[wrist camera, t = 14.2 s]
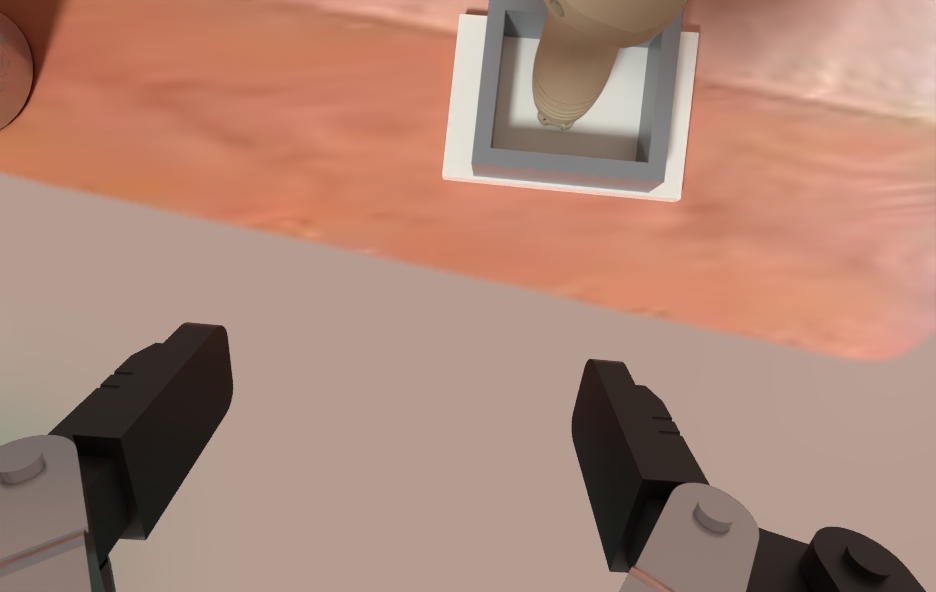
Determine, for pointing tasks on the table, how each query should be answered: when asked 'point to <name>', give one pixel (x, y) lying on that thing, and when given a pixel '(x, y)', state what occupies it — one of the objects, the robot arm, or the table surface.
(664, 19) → the handle
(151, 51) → the table surface
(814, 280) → the table surface
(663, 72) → the holder
